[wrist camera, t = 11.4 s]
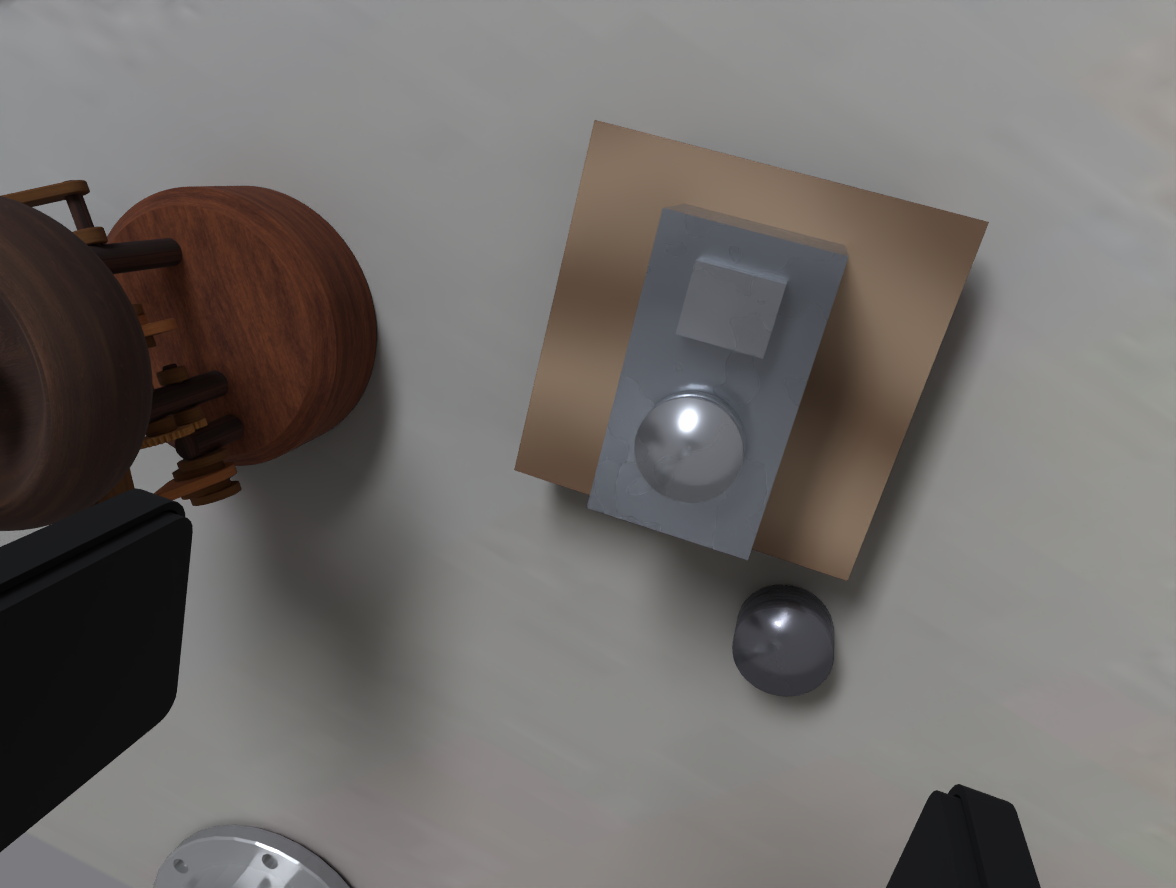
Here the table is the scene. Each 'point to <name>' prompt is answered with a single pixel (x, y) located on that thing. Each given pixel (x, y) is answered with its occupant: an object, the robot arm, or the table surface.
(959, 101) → the table surface
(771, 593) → the dark grey round piece
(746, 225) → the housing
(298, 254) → the music box
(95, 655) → the robot arm
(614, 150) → the stand
